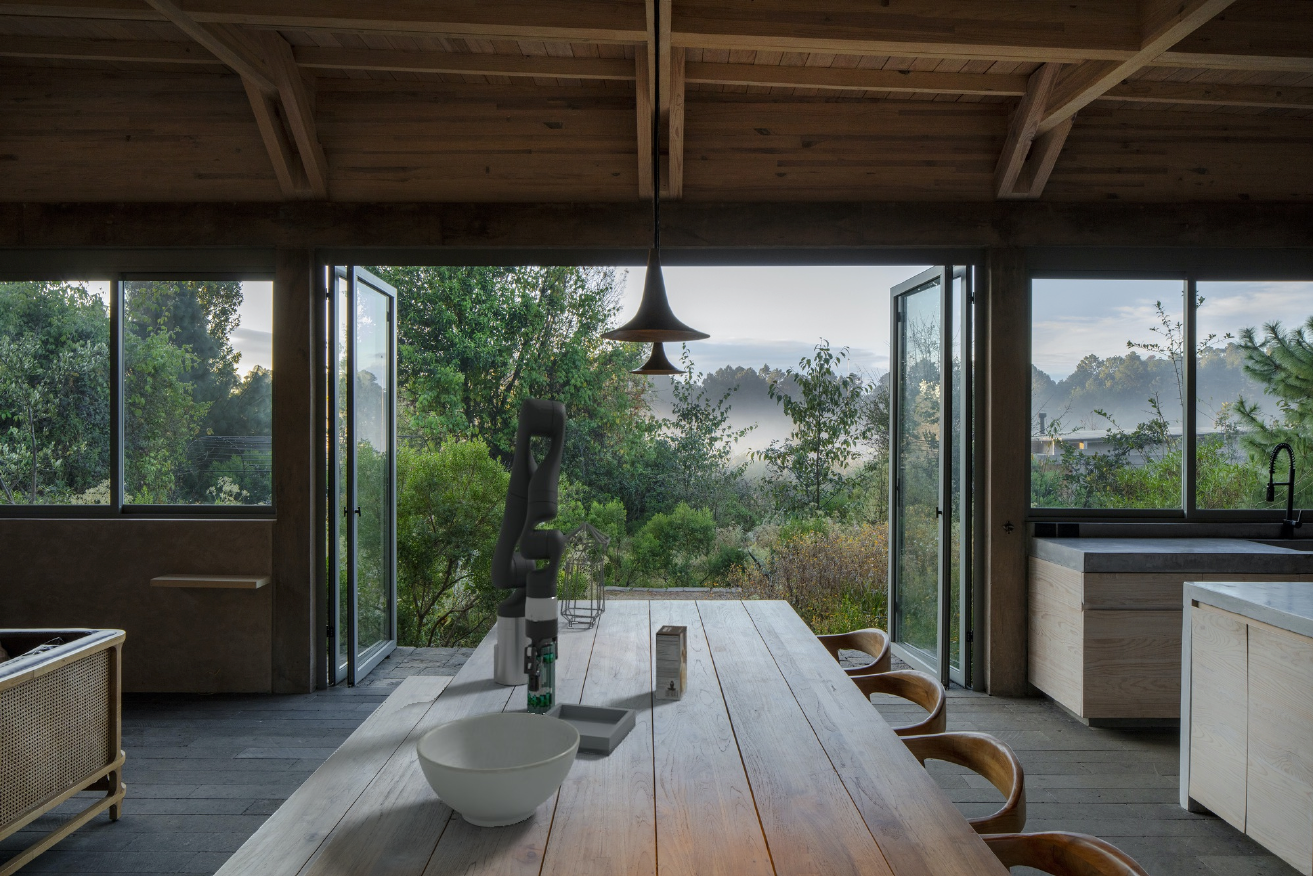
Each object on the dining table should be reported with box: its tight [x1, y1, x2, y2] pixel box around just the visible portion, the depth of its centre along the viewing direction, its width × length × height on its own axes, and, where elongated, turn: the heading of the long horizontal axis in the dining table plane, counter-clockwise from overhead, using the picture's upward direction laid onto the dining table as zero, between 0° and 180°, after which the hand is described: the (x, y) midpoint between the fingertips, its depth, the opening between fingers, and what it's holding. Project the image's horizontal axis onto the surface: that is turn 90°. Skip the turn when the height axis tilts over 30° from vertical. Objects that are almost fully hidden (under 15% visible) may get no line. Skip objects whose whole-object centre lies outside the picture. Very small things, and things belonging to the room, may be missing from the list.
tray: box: [543, 702, 637, 756], centre depth 173 cm, size 18×18×4 cm
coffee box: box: [655, 625, 688, 701], centre depth 202 cm, size 9×6×16 cm
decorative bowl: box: [416, 712, 580, 828], centre depth 137 cm, size 27×27×12 cm
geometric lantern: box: [559, 522, 612, 628], centre depth 278 cm, size 16×16×35 cm
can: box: [526, 643, 556, 715], centre depth 189 cm, size 6×6×15 cm
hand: (541, 685), depth 189 cm, fingers open, 8 cm apart
